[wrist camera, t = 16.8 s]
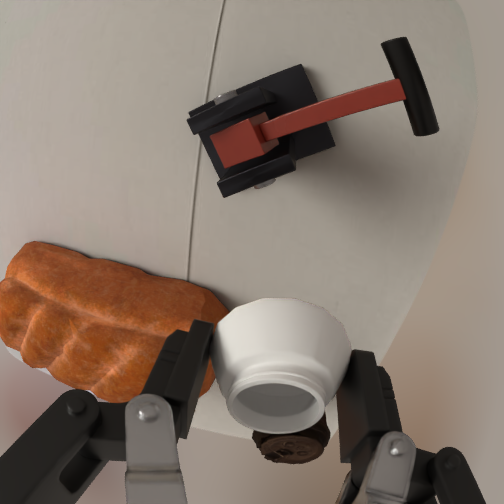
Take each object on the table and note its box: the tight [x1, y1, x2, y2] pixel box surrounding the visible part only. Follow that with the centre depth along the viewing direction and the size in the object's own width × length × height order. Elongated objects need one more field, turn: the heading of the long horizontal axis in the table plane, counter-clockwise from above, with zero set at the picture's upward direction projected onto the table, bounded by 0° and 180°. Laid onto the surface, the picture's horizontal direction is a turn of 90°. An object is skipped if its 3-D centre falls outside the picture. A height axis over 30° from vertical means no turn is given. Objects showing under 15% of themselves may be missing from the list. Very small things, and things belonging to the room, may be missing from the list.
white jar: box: [209, 298, 352, 434], centre depth 10 cm, size 5×3×5 cm
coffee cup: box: [252, 412, 330, 464], centre depth 35 cm, size 9×8×13 cm
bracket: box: [187, 64, 336, 198], centre depth 22 cm, size 11×8×13 cm
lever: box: [210, 37, 439, 168], centre depth 16 cm, size 12×5×2 cm, turn 114°
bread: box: [0, 241, 230, 403], centre depth 34 cm, size 16×31×13 cm, turn 79°
